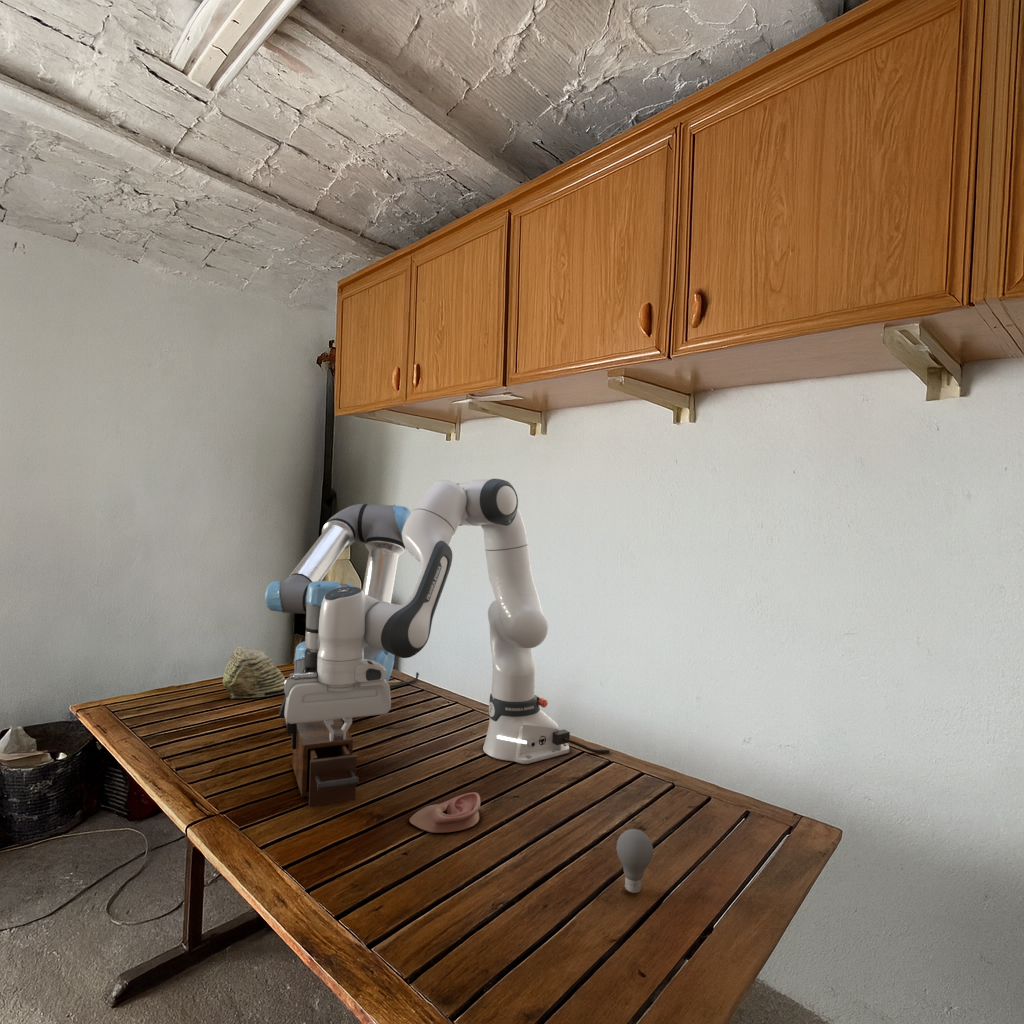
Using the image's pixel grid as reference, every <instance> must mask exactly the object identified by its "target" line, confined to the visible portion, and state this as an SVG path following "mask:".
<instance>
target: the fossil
mask: <svg viewBox="0 0 1024 1024" xmlns="http://www.w3.org/2000/svg"><path fill="white" fill-rule="evenodd" d="M222 676H223V677H222V685H223V687H224V688H225V690H226V691H228V693H229V698H230V699H250V698H264V697H271V696H275V695H281V694H284V683H285V681H286V678H285V676H284V674H283V673H282V672H281V669H279V668H278V667H277V665H276V663H275V662H274V660H273V659H272V658H271V657H270V656H269V655H268V654H267V653H266V652H265V650H264V649H263V648H260V647H258V648H251V647H247V646H246V647H245V646H238V647H237V648H236V649H235V650H233V651H232V653H231V656H230V657H229V659H228V660H227V663H226V666H225V668H224V671H223V675H222Z"/></svg>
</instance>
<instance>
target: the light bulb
mask: <svg viewBox="0 0 1024 1024" xmlns="http://www.w3.org/2000/svg"><path fill="white" fill-rule="evenodd" d="M615 849H616V854H617V857H618V859H619V861H620V863H621V865H622V867H623V873H624V874H623V875H624V876H625V878H624V888H625V890H627V891H628V892H630V893H634V894H635V893H639V892H640V891H641V889H642V887H641V886H642V879H643V877H644V875H645V871H646V868H647V867H648V866H649V864H650V863H651V861H652V859H653V855H654V847H653V843H652V841H651V838H649V836H648V835H647V834H646V833H645V832H643V831H642V830H641V829H636V828H629V829H627V830H625V831H623V832H622V833H621V834H620V835H619V837H618V839H617V841H616V847H615Z"/></svg>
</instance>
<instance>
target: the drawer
mask: <svg viewBox="0 0 1024 1024" xmlns="http://www.w3.org/2000/svg"><path fill="white" fill-rule="evenodd" d="M357 758H358V757H357V755H356V754H352V755H350V753H349V751H348V749H347V748H346V746H345V745H337V746H329V747H321V748H313V749H308V764H307V785H308V788H309V796H308V807H309V808H313V807H320V806H325V805H326V806H327V805H332V804H338V803H344V802H345V803H346V802H350V801H355V800H356V790H357V789H356V788H357V787H356V786H359V783H360V782H359V777H358V776H357V762H358V761H357V760H358V759H357Z"/></svg>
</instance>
